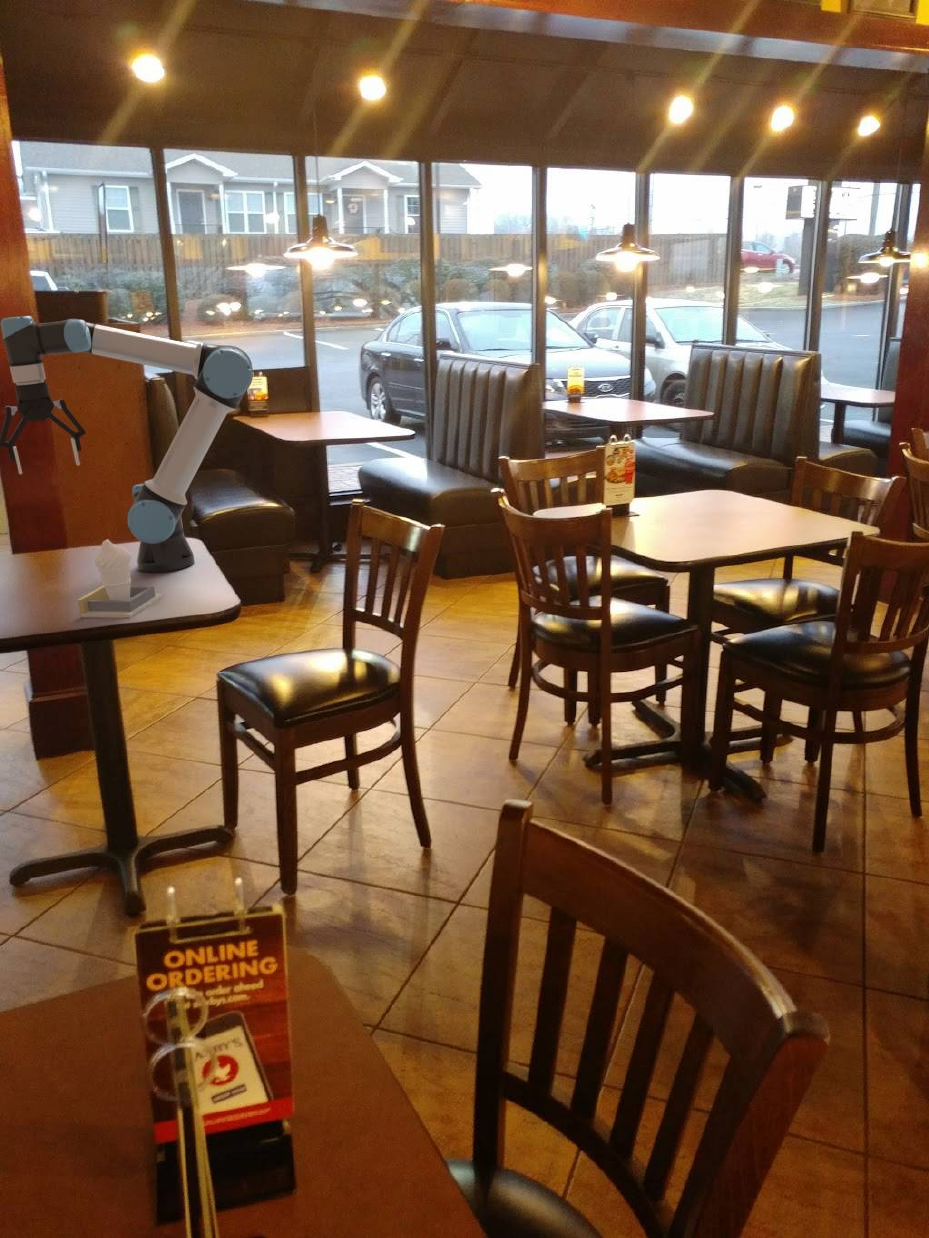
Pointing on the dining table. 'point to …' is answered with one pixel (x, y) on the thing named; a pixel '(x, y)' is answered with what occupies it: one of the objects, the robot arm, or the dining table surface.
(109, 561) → the soft serve ice cream cone
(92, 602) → the grey shallow tray
